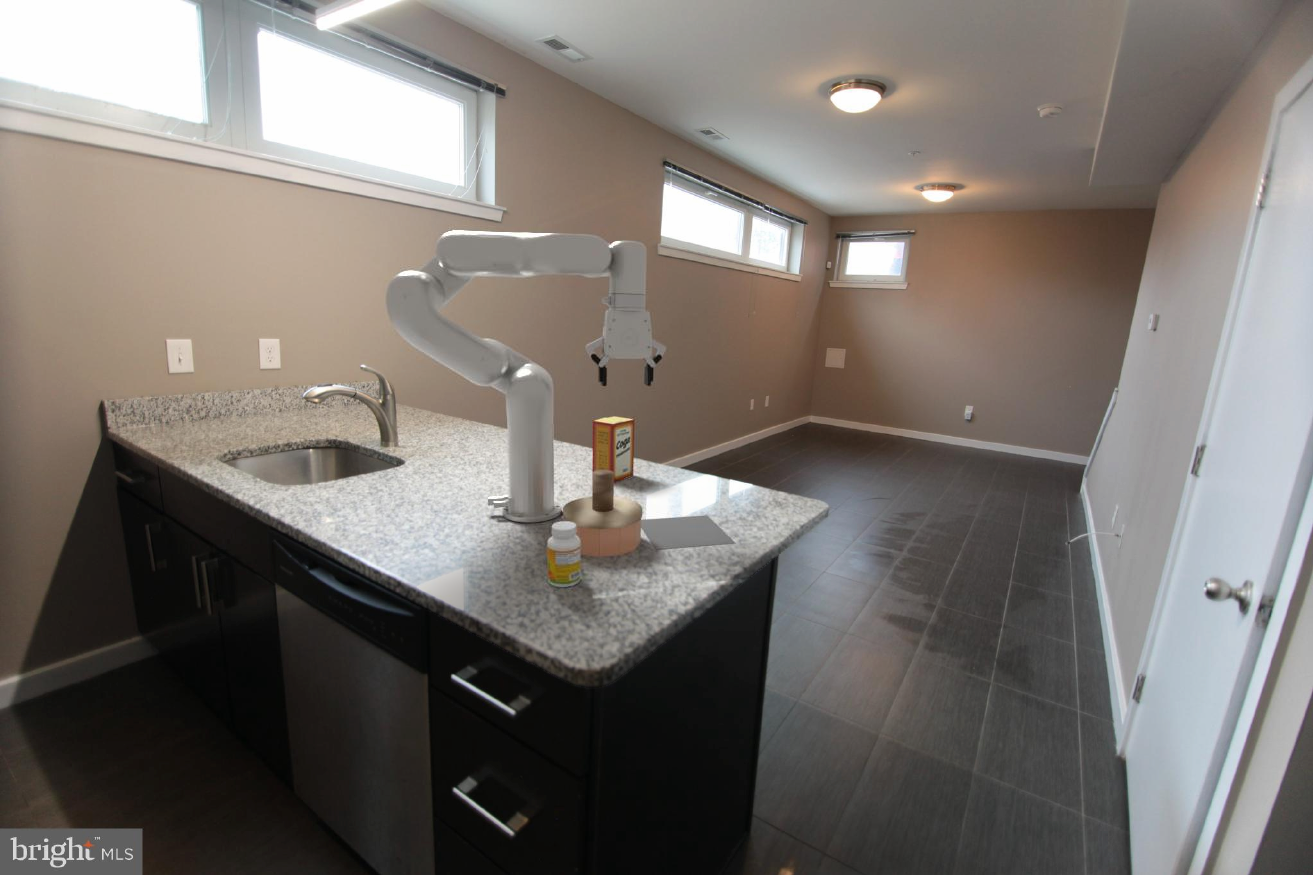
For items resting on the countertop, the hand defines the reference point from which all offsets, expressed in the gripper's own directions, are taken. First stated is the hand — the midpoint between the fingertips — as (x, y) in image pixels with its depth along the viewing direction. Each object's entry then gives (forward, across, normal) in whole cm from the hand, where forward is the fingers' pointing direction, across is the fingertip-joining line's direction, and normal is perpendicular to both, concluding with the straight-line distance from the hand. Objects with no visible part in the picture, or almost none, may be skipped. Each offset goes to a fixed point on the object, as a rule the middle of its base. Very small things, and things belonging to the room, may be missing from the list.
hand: (625, 385), depth 126 cm
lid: (+22, -8, -18) cm, 30 cm away
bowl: (+28, -8, -18) cm, 34 cm away
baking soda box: (+28, +3, +27) cm, 39 cm away
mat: (+28, +9, -16) cm, 34 cm away
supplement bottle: (+28, -17, -32) cm, 46 cm away
